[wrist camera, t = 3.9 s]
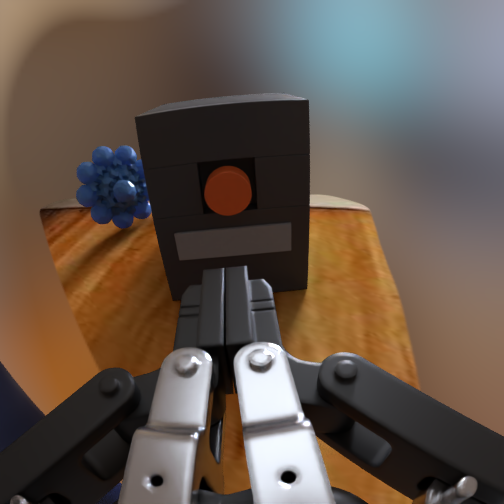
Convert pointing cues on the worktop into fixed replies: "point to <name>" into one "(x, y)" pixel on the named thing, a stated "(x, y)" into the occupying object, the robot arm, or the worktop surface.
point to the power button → (228, 190)
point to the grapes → (114, 186)
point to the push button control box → (260, 176)
